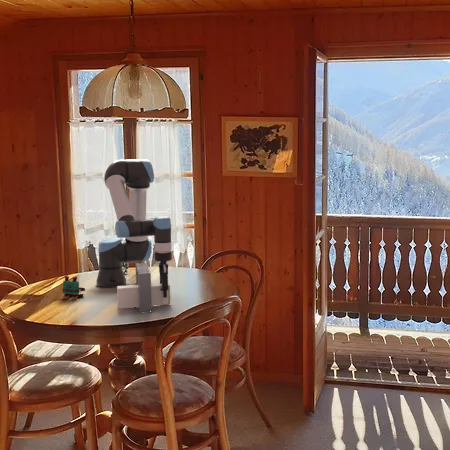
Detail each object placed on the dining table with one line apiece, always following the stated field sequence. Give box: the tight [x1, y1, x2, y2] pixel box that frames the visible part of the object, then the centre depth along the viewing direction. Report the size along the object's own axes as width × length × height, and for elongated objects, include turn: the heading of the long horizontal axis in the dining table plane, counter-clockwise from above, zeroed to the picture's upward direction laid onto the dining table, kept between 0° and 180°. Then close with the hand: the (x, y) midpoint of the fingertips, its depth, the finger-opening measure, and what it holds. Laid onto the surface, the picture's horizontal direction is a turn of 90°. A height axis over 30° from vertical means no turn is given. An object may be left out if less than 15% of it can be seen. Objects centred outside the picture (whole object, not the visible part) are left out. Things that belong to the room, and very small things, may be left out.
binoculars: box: [62, 275, 86, 301], centre depth 295 cm, size 9×11×10 cm
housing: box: [135, 262, 153, 314], centre depth 277 cm, size 5×24×17 cm, turn 11°
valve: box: [122, 263, 129, 275], centre depth 347 cm, size 7×7×12 cm
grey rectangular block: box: [116, 282, 171, 310], centre depth 278 cm, size 23×5×9 cm, turn 101°
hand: (164, 302), depth 280 cm, fingers closed on grey rectangular block, 5 cm apart
